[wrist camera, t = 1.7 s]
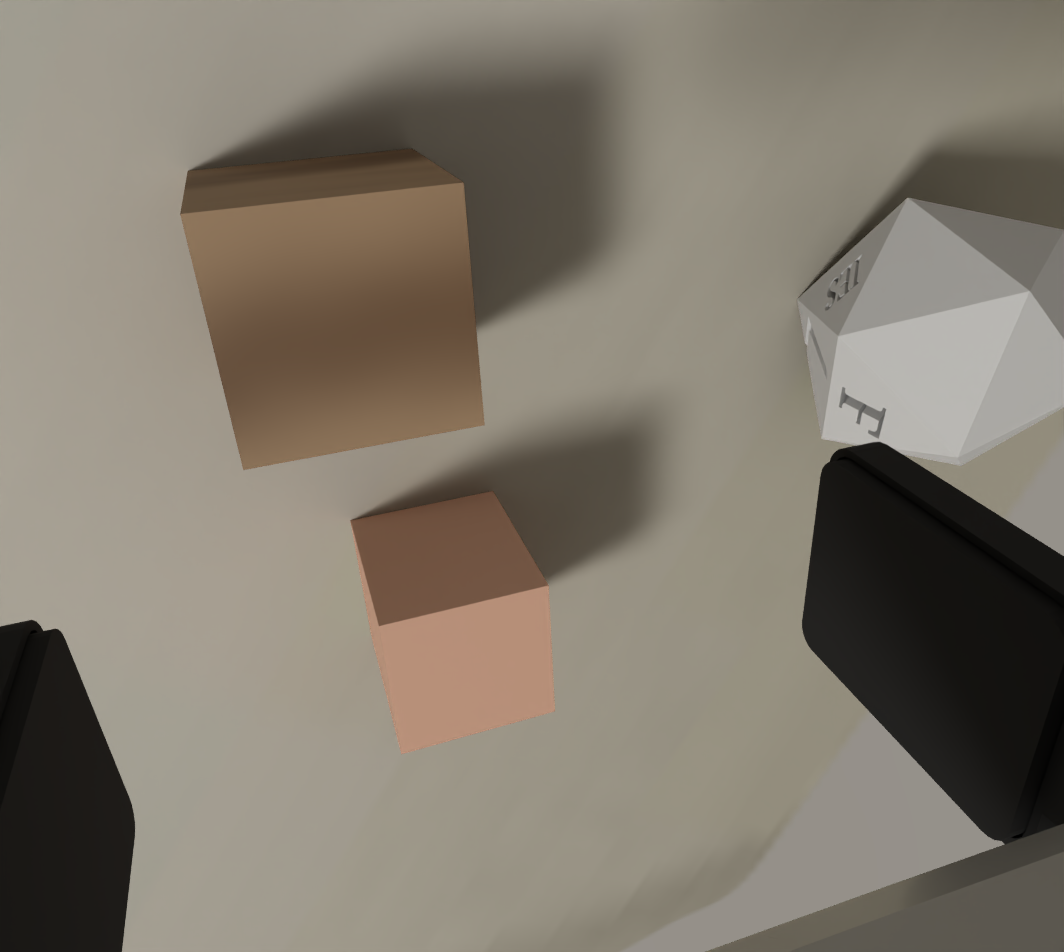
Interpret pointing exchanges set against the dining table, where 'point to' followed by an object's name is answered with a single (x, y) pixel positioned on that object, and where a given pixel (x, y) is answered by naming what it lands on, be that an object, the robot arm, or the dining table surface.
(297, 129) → the dining table surface
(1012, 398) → the die
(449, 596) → the block terracotta
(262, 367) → the block walnut
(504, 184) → the dining table surface
